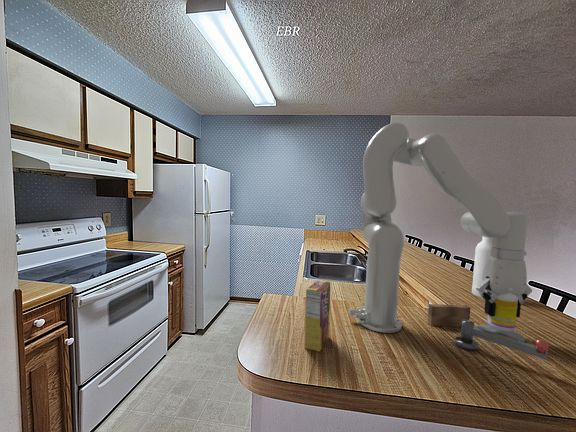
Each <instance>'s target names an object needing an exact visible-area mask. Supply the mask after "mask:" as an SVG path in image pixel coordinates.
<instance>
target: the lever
mask: <svg viewBox="0 0 576 432" xmlns="http://www.w3.org/2000/svg"><path fill="white" fill-rule="evenodd" d="M474 337H476V338H479V339H483V340H485V341H488V342H491V343H495V344H498V345H500V346H504V347H507V348H509V349H512V350H516V351H518V352H521V353H525V354H527V355H531V356H534V357H537V358H538V359H539V358H540V359H542V360H547V358H548V354H549V344H550V342H549V341H547V340H546V339H544V338H539V337H538V338H535V342H534V343H535V344H531V343H528V342H522V341H518V340H515V339H512V338H509V337H506V336H502V335H499V334H496V333H493V332H489V331H486V330H483V329H480V328H478V327H475V321H473V320H471V319H470V320H467V319H462V324H461V326H460V335H459V336H456V337H455V338H454V344H455V345H456V346H458V347H459V348H462V349H464V350H468V351H477V350H478V349H479V343H478V342H477V341H476V340H474Z"/></svg>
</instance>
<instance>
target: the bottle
mask: <svg viewBox="0 0 576 432" xmlns="http://www.w3.org/2000/svg"><path fill="white" fill-rule="evenodd" d="M491 247H492V238H487V237H483V236H481V241H480V242H478V243H477V245H476V246H475V251H474V260H473V261H474V263H473V264H474V265H473V274H472V275H473V277H472V286H471V294H472V295H473V296H475V297H478V298H481V299H483V297H482V296H481V295H480V293H479V292H478V291H477V289H476V287H477V286H478V285H479V284H480V283H482V277H483V271H484V267H485V264H486V261H487V258H488V257H491ZM486 291H487V290H485V292H486Z"/></svg>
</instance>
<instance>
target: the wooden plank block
mask: <svg viewBox="0 0 576 432" xmlns="http://www.w3.org/2000/svg"><path fill="white" fill-rule="evenodd" d="M427 309H428V312H427V314H428V315H427V324H428V325H430V326H433V327H435V326H436V327H439V326H440V327H461V324H462V319H467V320H471V319H470V318H471V317H470V316H471V307H470V306H469V305H466V304H440V303H439V304H438V303H429V304H428V308H427Z"/></svg>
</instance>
